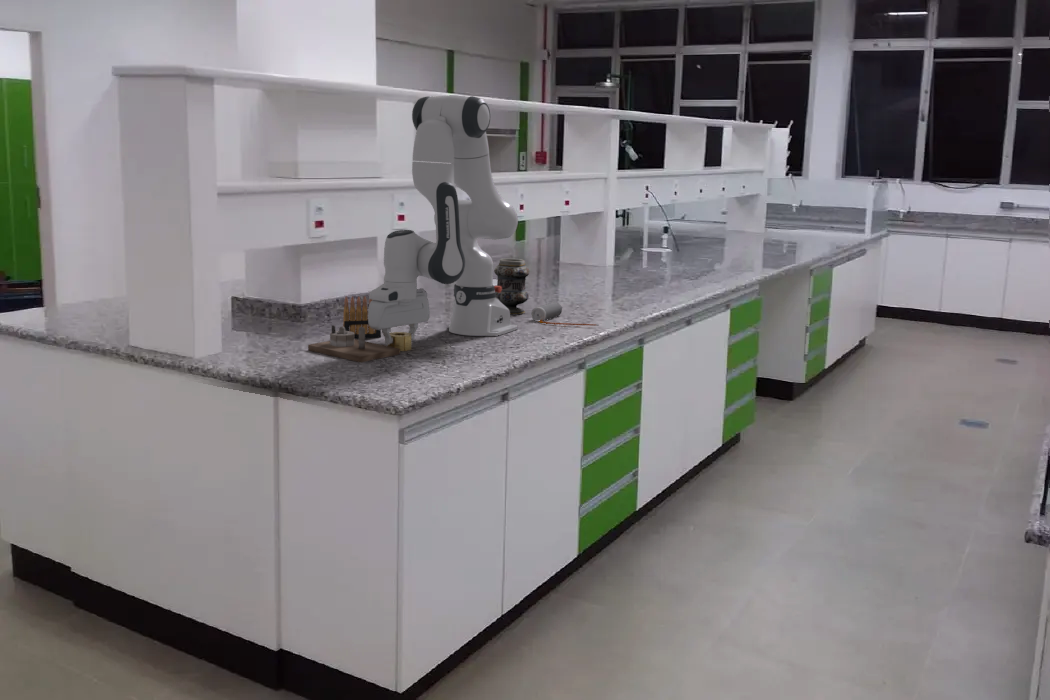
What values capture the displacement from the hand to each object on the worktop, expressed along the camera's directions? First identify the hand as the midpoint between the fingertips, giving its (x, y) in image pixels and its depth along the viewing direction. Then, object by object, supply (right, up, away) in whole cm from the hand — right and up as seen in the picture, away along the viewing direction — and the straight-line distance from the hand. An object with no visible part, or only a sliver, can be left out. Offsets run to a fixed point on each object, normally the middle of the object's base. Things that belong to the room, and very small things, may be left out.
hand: (399, 341), depth 254 cm
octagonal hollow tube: (0, -2, 0) cm, 2 cm away
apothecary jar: (+29, +10, +64) cm, 71 cm away
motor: (+50, +7, +52) cm, 72 cm away
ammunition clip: (-13, +1, +13) cm, 18 cm away
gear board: (-11, -3, -6) cm, 13 cm away
